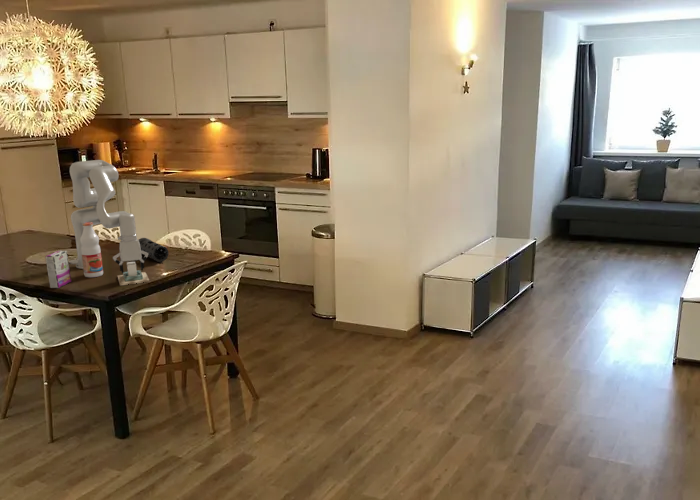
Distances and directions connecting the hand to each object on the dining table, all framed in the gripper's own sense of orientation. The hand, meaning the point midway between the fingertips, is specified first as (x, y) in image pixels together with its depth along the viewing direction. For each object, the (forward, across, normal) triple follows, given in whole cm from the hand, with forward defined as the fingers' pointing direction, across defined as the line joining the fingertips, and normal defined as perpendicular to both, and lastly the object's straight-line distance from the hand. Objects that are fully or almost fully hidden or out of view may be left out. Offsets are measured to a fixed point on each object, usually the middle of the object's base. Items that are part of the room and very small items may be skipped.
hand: (132, 270), depth 325 cm
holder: (+5, 0, 0) cm, 5 cm away
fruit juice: (+5, -18, +18) cm, 26 cm away
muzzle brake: (+5, +14, +39) cm, 42 cm away
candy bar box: (+5, -34, +7) cm, 35 cm away
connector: (+4, 0, 0) cm, 4 cm away
